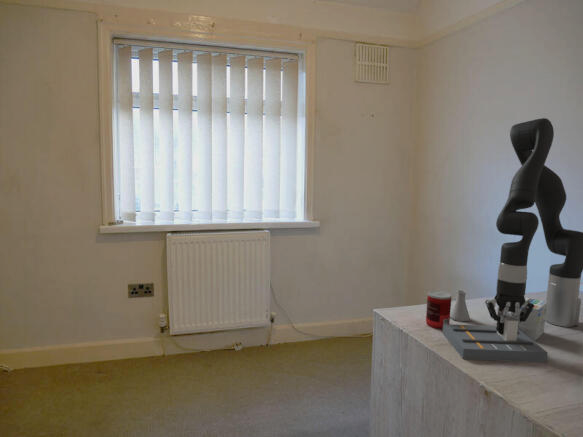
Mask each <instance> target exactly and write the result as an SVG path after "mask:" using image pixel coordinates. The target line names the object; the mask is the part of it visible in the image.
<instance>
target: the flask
mask: <svg viewBox="0 0 583 437" xmlns="http://www.w3.org/2000/svg"><path fill="white" fill-rule="evenodd" d="M456 293H457V295H456V298H455V299H456V300H455V303H454V304H453V306H452V309H451V310H450V319H452V320H453V321H457V322H458V321H459V322H470V321H471V317H470V313H469V311H468V307H467V303H466V294H467V291H465V290H461V289H460V290H456Z"/></svg>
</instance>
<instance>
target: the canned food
mask: <svg viewBox="0 0 583 437" xmlns="http://www.w3.org/2000/svg"><path fill="white" fill-rule="evenodd" d="M451 307H452V294H451V293H450V292H447V291H443V290H430V291H428V292H427V297H426V313H425V314H426V315H425V323H426V325H427V326H429V327H431V328H433V329H440V330H441V329H442V330H443V324H450V319H451V318H450V313H451V311H452V309H451Z"/></svg>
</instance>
